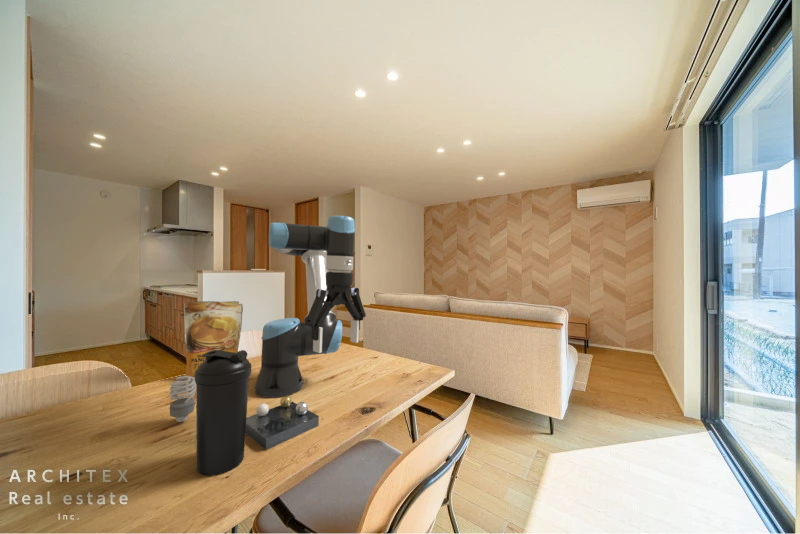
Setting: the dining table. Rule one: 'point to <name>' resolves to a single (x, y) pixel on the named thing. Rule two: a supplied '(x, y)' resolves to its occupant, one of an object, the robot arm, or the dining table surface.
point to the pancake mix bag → (210, 330)
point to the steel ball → (301, 408)
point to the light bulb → (182, 398)
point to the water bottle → (221, 411)
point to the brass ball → (285, 401)
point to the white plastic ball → (262, 409)
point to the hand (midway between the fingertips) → (337, 346)
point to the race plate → (279, 425)
